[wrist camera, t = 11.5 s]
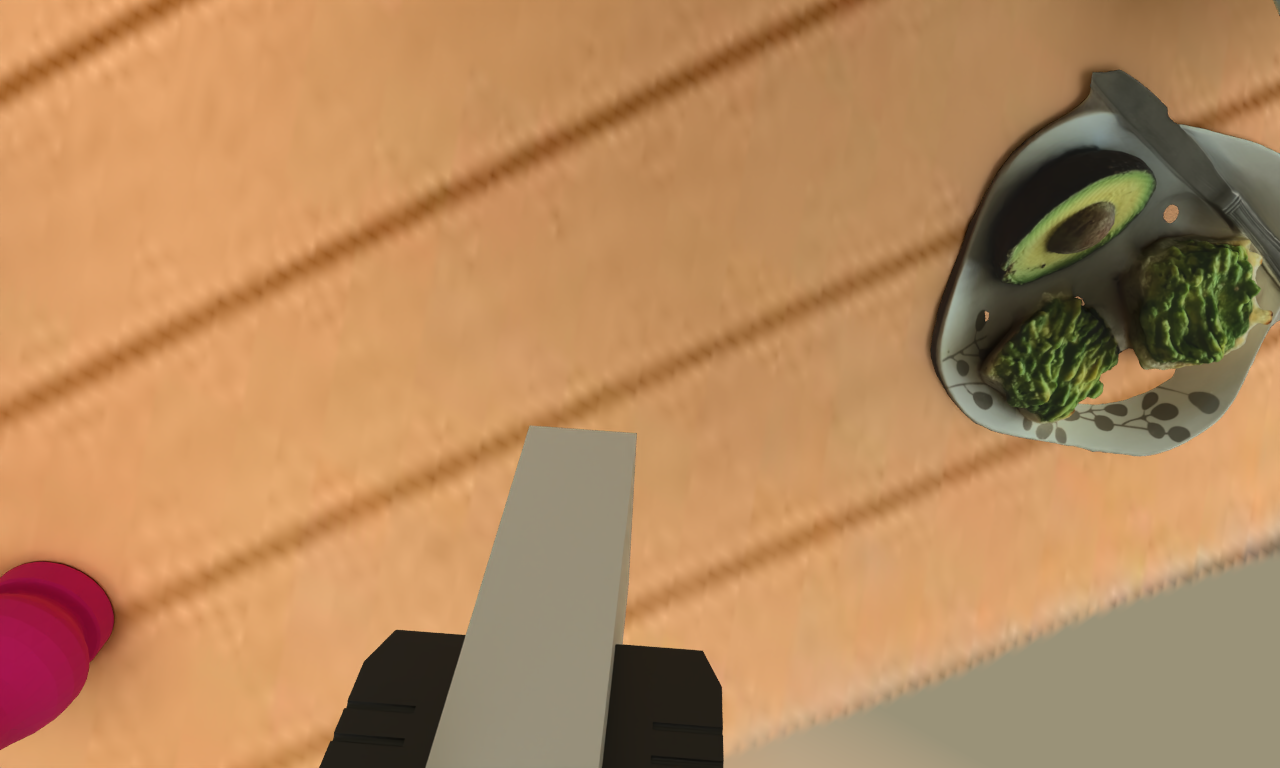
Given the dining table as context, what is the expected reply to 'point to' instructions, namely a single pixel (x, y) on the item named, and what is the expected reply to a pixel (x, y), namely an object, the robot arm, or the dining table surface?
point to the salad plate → (1113, 277)
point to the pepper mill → (46, 643)
